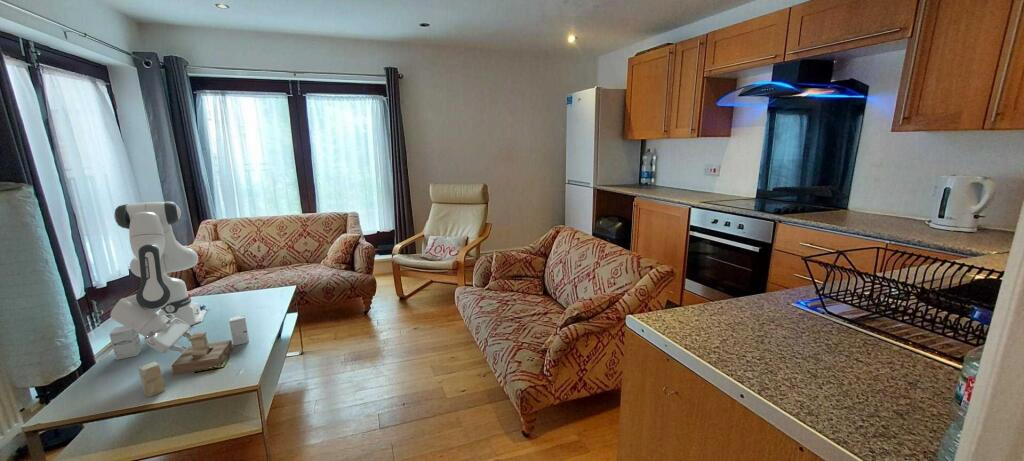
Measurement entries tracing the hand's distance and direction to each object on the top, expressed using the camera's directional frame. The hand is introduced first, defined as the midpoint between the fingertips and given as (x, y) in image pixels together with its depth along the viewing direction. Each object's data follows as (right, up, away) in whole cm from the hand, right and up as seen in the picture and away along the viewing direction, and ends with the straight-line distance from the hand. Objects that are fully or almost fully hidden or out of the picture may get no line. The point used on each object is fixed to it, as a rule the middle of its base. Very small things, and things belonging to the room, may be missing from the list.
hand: (189, 345), depth 171 cm
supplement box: (-34, -7, +10) cm, 36 cm away
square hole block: (+4, -7, +3) cm, 9 cm away
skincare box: (+10, -4, +18) cm, 21 cm away
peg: (+4, -7, +3) cm, 9 cm away
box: (+2, -13, -18) cm, 22 cm away
